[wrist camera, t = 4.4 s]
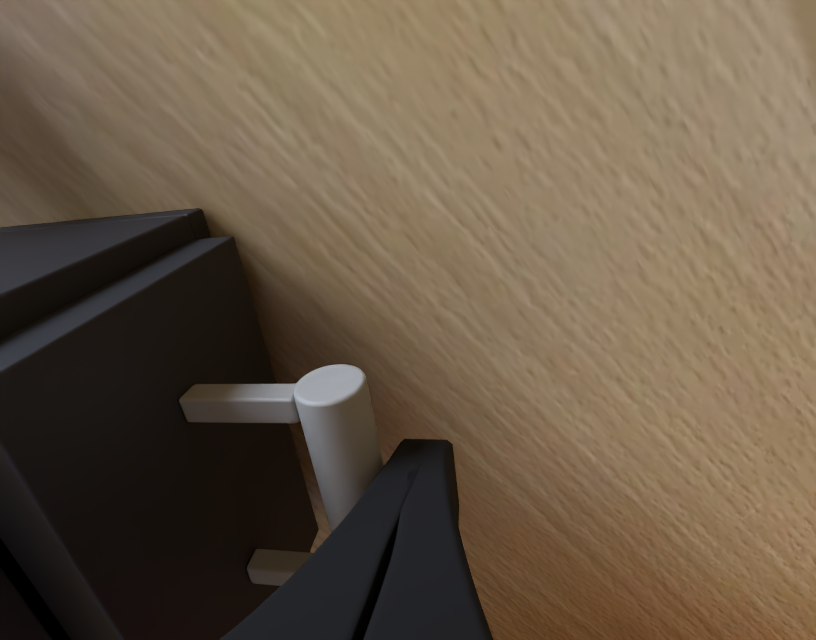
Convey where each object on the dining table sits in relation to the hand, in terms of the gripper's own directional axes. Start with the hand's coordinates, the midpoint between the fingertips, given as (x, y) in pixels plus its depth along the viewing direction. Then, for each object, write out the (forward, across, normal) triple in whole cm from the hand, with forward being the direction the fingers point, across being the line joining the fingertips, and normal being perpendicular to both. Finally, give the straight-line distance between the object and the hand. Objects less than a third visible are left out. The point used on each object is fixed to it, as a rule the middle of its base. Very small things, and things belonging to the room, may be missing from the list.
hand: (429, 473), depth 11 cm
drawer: (+3, +8, 0) cm, 8 cm away
